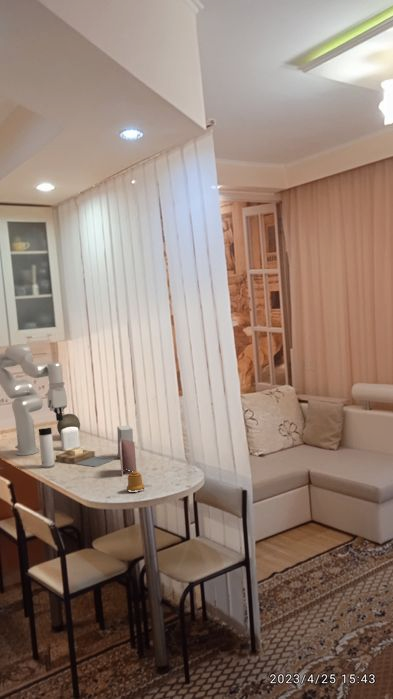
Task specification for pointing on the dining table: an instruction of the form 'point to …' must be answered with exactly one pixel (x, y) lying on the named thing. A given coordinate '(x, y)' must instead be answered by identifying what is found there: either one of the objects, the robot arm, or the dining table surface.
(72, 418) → the cantaloupe
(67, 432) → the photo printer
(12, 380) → the robot arm
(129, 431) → the skincare box
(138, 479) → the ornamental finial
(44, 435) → the travel mug
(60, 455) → the tan flat square block
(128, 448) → the greeting card
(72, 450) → the cream rectangular block
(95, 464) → the mat
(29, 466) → the dining table surface
